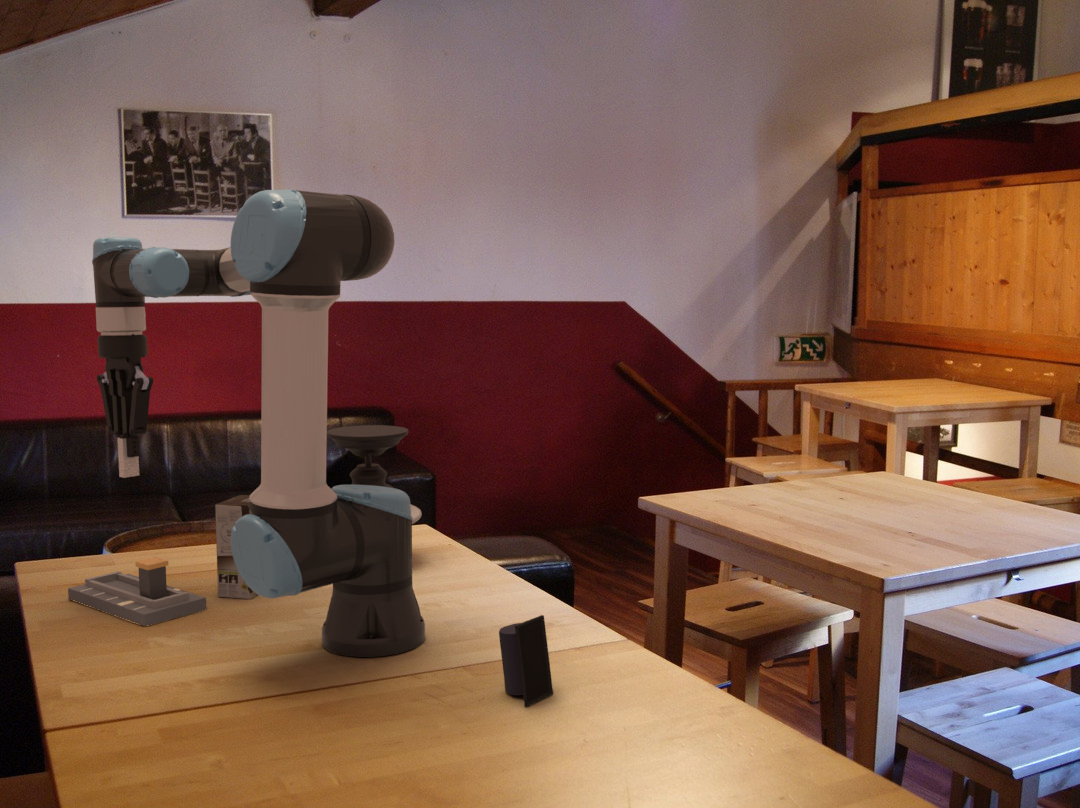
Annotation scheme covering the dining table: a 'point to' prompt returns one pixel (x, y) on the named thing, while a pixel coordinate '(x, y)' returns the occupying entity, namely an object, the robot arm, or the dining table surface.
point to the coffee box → (226, 568)
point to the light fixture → (370, 452)
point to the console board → (134, 599)
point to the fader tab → (152, 577)
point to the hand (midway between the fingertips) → (129, 475)
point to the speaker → (526, 660)
